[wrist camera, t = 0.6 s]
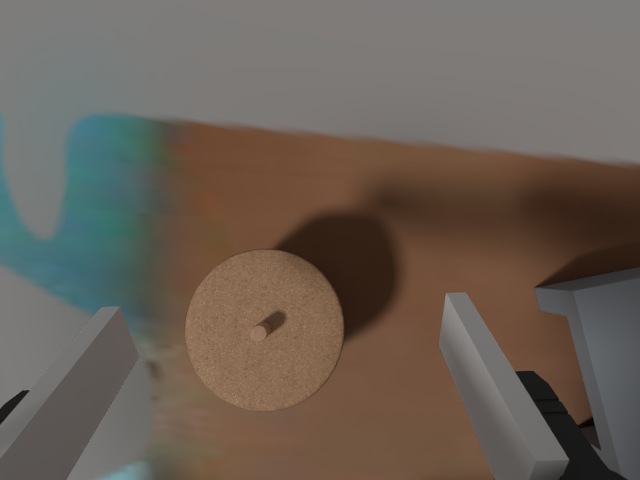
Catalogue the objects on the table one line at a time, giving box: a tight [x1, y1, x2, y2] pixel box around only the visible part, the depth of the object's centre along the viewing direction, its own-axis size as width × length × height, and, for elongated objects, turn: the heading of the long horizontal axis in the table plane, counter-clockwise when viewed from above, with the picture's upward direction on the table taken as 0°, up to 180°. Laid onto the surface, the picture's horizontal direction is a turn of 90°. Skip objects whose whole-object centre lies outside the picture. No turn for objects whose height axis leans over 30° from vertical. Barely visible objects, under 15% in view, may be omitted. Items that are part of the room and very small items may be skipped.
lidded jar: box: [186, 249, 344, 411], centre depth 27 cm, size 11×11×9 cm
